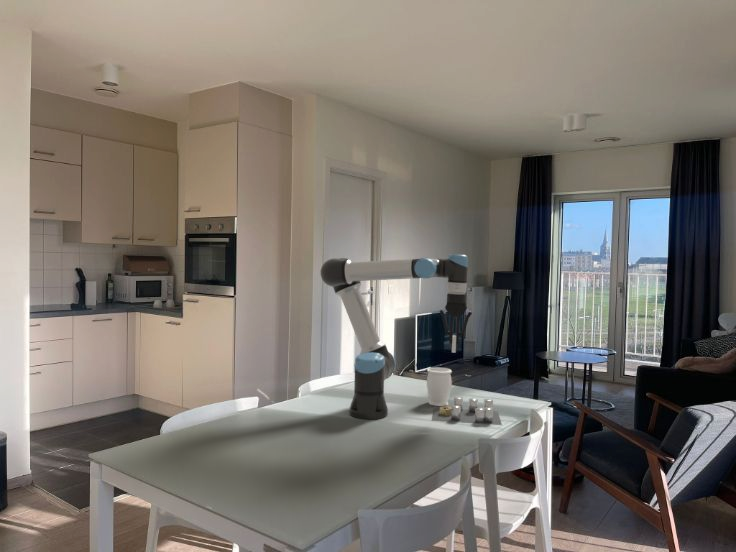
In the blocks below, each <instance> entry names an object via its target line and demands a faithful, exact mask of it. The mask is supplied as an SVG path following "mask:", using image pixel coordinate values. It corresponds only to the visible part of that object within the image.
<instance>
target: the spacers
mask: <svg viewBox="0 0 736 552" xmlns="http://www.w3.org/2000/svg"><path fill="white" fill-rule="evenodd" d="M463 403H464V398H463V397H461V396H454V397H453V405H450V407H451V420H454V421H459V420H460V419H461V411H462V409H463ZM478 405H479V399H478V398H473V397H471V398H468V410H469V411H468V412H470V413H475V422H476V423H475V424H477V423H492V422H493V411H494V400H493V399H490V398H485V399H483V407H479V406H478Z"/></svg>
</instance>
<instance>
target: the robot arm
mask: <svg viewBox="0 0 736 552" xmlns="http://www.w3.org/2000/svg"><path fill="white" fill-rule="evenodd" d="M468 261H469V258H468V256H467V255H466V254H454V253H453V254H452V253H451V254H449V256H448V258H434V257H420V258H409V259H406V258H405V259H390V260H389V259H388V260H387V259H386V260H370V261H369V260H367V261H353V260H352V259H349V258H346V257H340V258H330V259H328V260H326V261H325V262H324V263H323V264H322V266H321V268H320V277H321V280H322V281H323V282H324V283H325V284H326V286H329V287H331V288H333V291H334V293H335V295H337V296H339V297H340V299H341V302H342V303H343V306H344V309H345V312H346V314H347V316H348V319H349V321H350V324H351V326H352V329H353V331H354V335H355V337H356V339H357V342H358V345H359V347H360V349H361V351H360V352H359V354H358V355H356V357H355V361H354V386H353V387H354V389H353V390H354V394H353V397H352V401H351V402H350V406H349V415H350V416H351V417H354V418H357V419H363V420H377V419H383V418H385V417H388V413H389V409H388V408H389V407H388V405H387V401H386V399H385V393H384V392H385V390H384V389H385V381H386V380H387V379H389V378H390V377H391V376H392V375H393V374H394V372H395V370H396V359H395V357H394V356H393V354H392V353H391V352H389V351H388V348H387V345H386V344H385V343H383V342H382V341H381V340H380V337H379V334H378V332H377V329H376V327H375V325H374V322H373V320H372V317H371V314H370V312H369V310H368V307H367V305H366V301H365V299H364V297H363V294H362V292H361V290H360V289H361V286H362V282H367V281H386V280H387V281H388V280H389V281H391V280H407V279H408V280H409V279H412V280H413V279H425V280H426V279H431V278H447V288H446V289H447V294H446V304H445V306H444V308H442V309H440V310H439V313H440V315H441V317H442V322H443V327H444V333H445V334H446V335H448V336H449V341H448V342H449V345H451V353H455V354H456V352H457V345H459V344H460V336H464V334H465V333H466V332H465V331H466V329H467V325H468V321H469V318H470V317H471V316H472V314H473V313H472V311H471V310H469V309H468V307H467V303H466V301H467V295H466V293H467V288H468V286H467V285H468V283H467V282H468V270H469V268H468V267H469V265H468V264H469V263H468ZM446 313H448V315H449V316H450V321H449V326H448V322H447V317H446ZM464 313H465V315H466V316H465V318H464V321H463V324H462V329H461V331H460V328H461V327H460V326H461V317H462V315H464ZM455 317H456V330H455V331H456V333H455V334H456V335H454V321H455V320H454V319H455Z"/></svg>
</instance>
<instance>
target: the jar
mask: <svg viewBox="0 0 736 552" xmlns="http://www.w3.org/2000/svg"><path fill="white" fill-rule="evenodd" d="M426 372H427V373H428V374H427V378H426V388H427V389H426V390H427V395H428V399H429V401H428V404H429V405H431V406H435V407H436V406H437V407H446V406H448V405H449V402H448V401H449V399H450V397H451V396H450V395H451V391H452V376H451V374H452V373H453V371H452V369H450V368H448V367H430V368H427V370H426Z"/></svg>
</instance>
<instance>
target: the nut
mask: <svg viewBox="0 0 736 552" xmlns="http://www.w3.org/2000/svg"><path fill="white" fill-rule="evenodd" d="M439 408H440V415H444V416H450V415H451V406H450V407H449V406H439Z"/></svg>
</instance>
